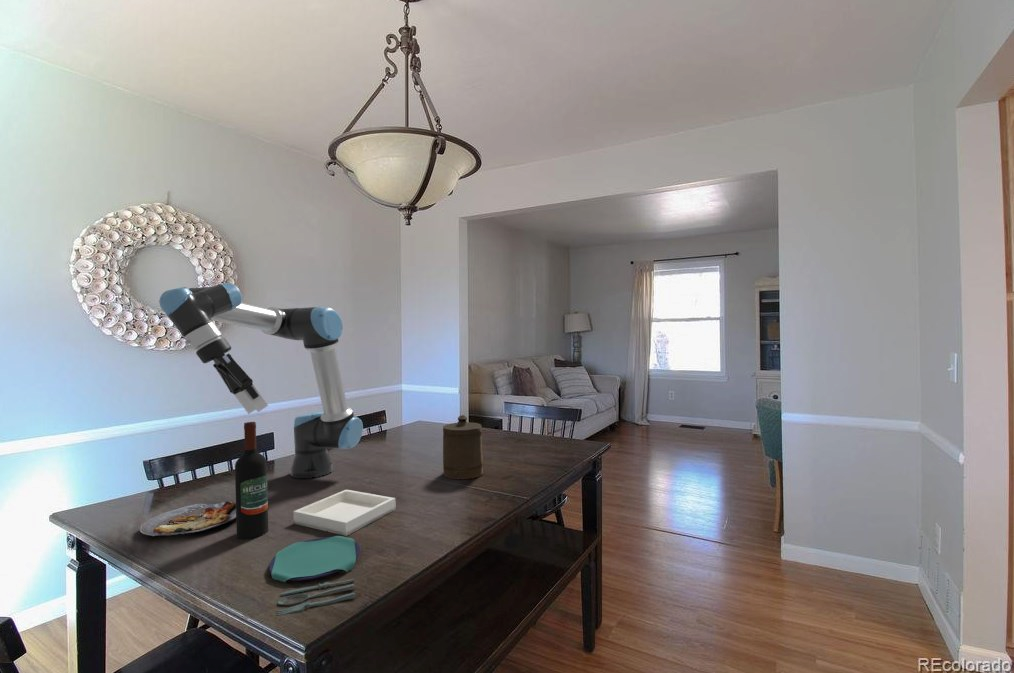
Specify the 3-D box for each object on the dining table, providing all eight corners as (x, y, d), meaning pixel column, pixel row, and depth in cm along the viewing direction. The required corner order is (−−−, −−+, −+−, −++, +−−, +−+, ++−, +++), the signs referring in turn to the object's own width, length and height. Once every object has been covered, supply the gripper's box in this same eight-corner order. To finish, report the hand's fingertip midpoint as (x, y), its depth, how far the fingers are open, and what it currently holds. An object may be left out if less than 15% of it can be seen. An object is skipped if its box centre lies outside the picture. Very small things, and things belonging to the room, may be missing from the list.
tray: (293, 523, 134) (293, 511, 133) (346, 500, 151) (346, 489, 151) (346, 535, 125) (346, 522, 125) (395, 509, 143) (395, 498, 143)
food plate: (257, 504, 149) (256, 493, 149) (226, 536, 126) (225, 523, 126) (170, 513, 145) (169, 501, 145) (122, 548, 122) (121, 534, 122)
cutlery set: (358, 538, 123) (358, 529, 123) (365, 601, 95) (364, 590, 95) (274, 552, 117) (274, 543, 117) (255, 625, 88) (254, 613, 88)
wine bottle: (263, 525, 133) (260, 419, 133) (272, 532, 128) (269, 422, 127) (233, 533, 128) (230, 423, 127) (241, 541, 122) (238, 426, 122)
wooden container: (473, 466, 188) (472, 411, 187) (489, 476, 174) (488, 416, 174) (438, 471, 181) (437, 414, 181) (451, 482, 168) (450, 420, 167)
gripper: (190, 357, 130) (237, 419, 135) (199, 343, 111) (253, 416, 115) (217, 343, 135) (261, 404, 139) (230, 328, 115) (281, 398, 120)
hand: (258, 410), depth 127 cm, fingers open, 13 cm apart
